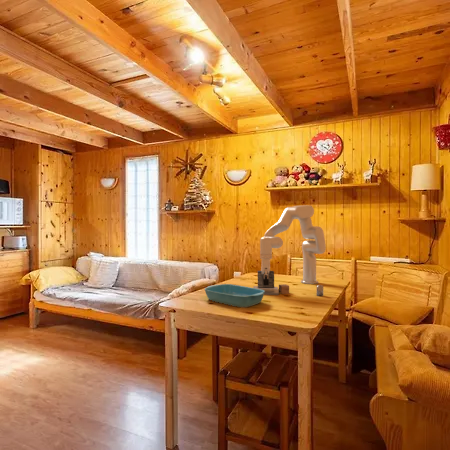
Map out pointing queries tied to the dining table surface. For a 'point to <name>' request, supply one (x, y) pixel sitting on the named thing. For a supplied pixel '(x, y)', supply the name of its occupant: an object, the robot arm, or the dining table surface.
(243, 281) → the dining table surface
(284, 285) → the walnut block
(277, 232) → the robot arm
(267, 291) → the tile board
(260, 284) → the small box
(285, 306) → the dining table surface
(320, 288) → the metal cylinder
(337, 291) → the dining table surface
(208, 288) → the casserole dish
